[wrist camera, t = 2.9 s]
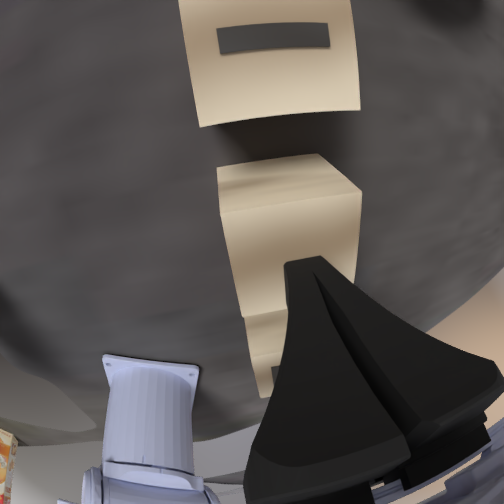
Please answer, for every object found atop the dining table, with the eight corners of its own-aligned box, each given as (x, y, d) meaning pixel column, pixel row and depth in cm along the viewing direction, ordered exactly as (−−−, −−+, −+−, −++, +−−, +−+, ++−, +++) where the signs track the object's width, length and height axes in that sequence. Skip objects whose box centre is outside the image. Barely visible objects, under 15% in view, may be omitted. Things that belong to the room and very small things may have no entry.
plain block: (318, 236, 17) (351, 294, 13) (233, 251, 16) (242, 317, 12) (316, 152, 14) (362, 191, 10) (216, 167, 14) (220, 213, 9)
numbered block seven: (316, 326, 21) (337, 382, 17) (250, 340, 21) (260, 399, 17) (318, 277, 18) (346, 337, 14) (240, 292, 18) (251, 358, 14)
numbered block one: (313, 95, 12) (364, 110, 8) (204, 109, 12) (199, 127, 8) (301, 0, 9) (348, -31, 5) (187, 10, 9) (174, -25, 5)
